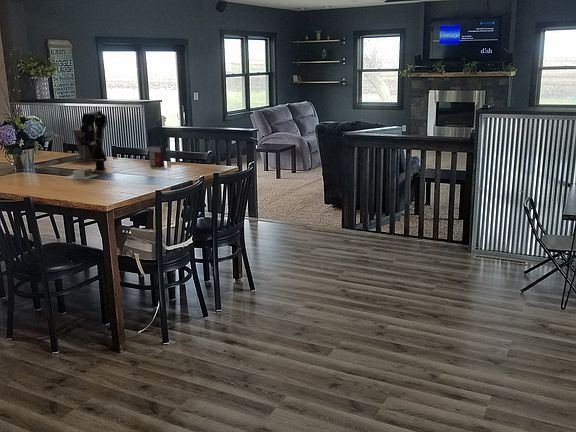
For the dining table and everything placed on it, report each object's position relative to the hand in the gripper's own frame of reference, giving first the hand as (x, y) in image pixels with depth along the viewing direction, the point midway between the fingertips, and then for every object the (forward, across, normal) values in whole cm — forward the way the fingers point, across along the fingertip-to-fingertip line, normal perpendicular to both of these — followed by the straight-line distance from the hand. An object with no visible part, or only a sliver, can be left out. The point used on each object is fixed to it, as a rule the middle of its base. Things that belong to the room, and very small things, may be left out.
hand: (92, 154), depth 405 cm
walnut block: (+11, +8, 0) cm, 13 cm away
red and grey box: (+13, -35, +32) cm, 49 cm away
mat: (+13, +17, 0) cm, 21 cm away
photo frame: (+13, -57, -38) cm, 70 cm away
